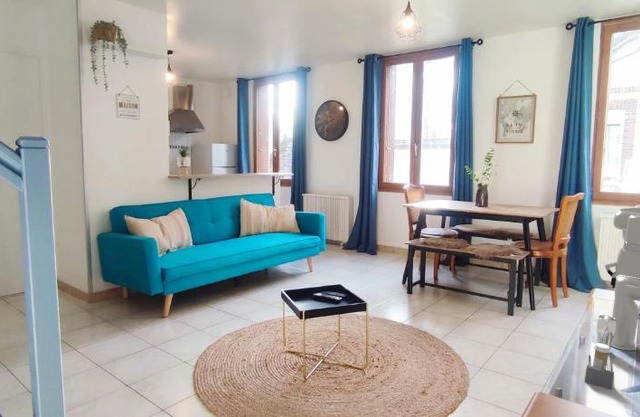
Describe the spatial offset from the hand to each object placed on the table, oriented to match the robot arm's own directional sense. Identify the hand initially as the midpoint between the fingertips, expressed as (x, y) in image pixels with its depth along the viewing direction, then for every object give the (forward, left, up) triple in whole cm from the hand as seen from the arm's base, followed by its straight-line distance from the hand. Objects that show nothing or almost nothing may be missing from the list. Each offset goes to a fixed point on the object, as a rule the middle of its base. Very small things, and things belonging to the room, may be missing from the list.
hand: (628, 289), depth 167 cm
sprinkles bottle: (+13, -6, -34) cm, 36 cm away
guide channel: (+5, -6, -33) cm, 34 cm away
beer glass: (-16, -4, -34) cm, 37 cm away
